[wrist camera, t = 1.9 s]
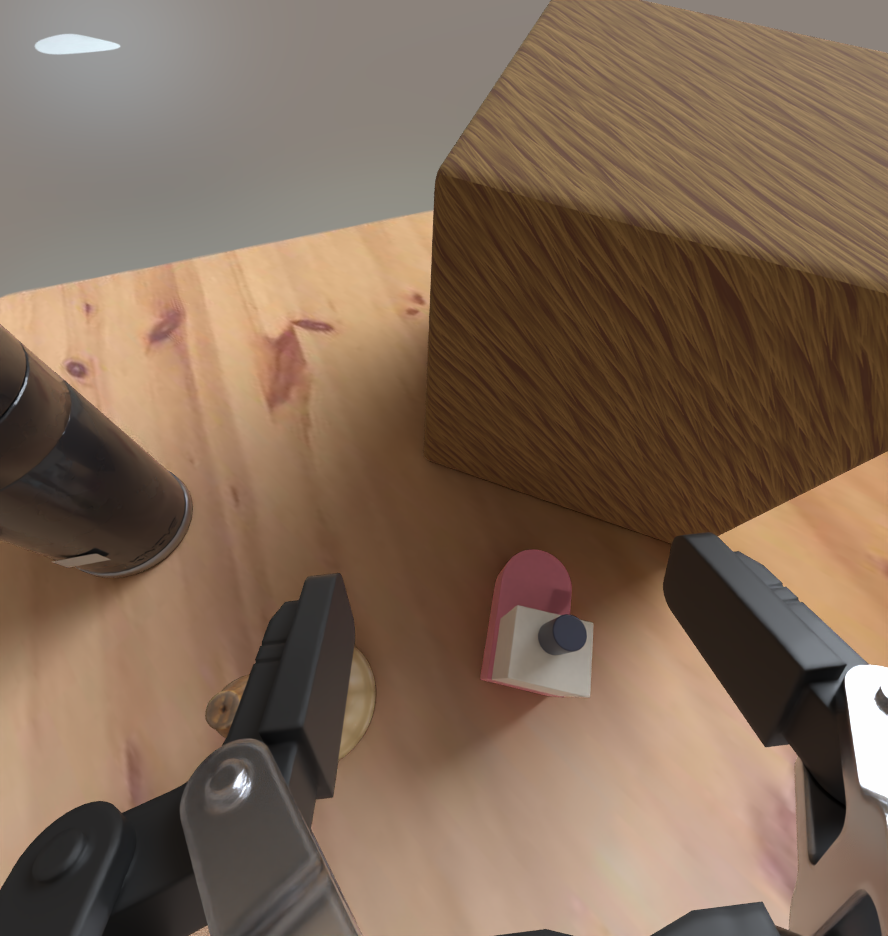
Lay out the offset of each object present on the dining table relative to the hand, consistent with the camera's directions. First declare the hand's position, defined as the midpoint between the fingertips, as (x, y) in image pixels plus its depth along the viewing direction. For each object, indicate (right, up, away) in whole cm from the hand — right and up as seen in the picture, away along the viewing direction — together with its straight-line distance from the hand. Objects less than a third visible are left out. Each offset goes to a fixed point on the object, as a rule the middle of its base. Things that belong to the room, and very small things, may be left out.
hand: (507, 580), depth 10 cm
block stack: (+5, -9, +23) cm, 25 cm away
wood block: (+12, +10, +34) cm, 37 cm away
